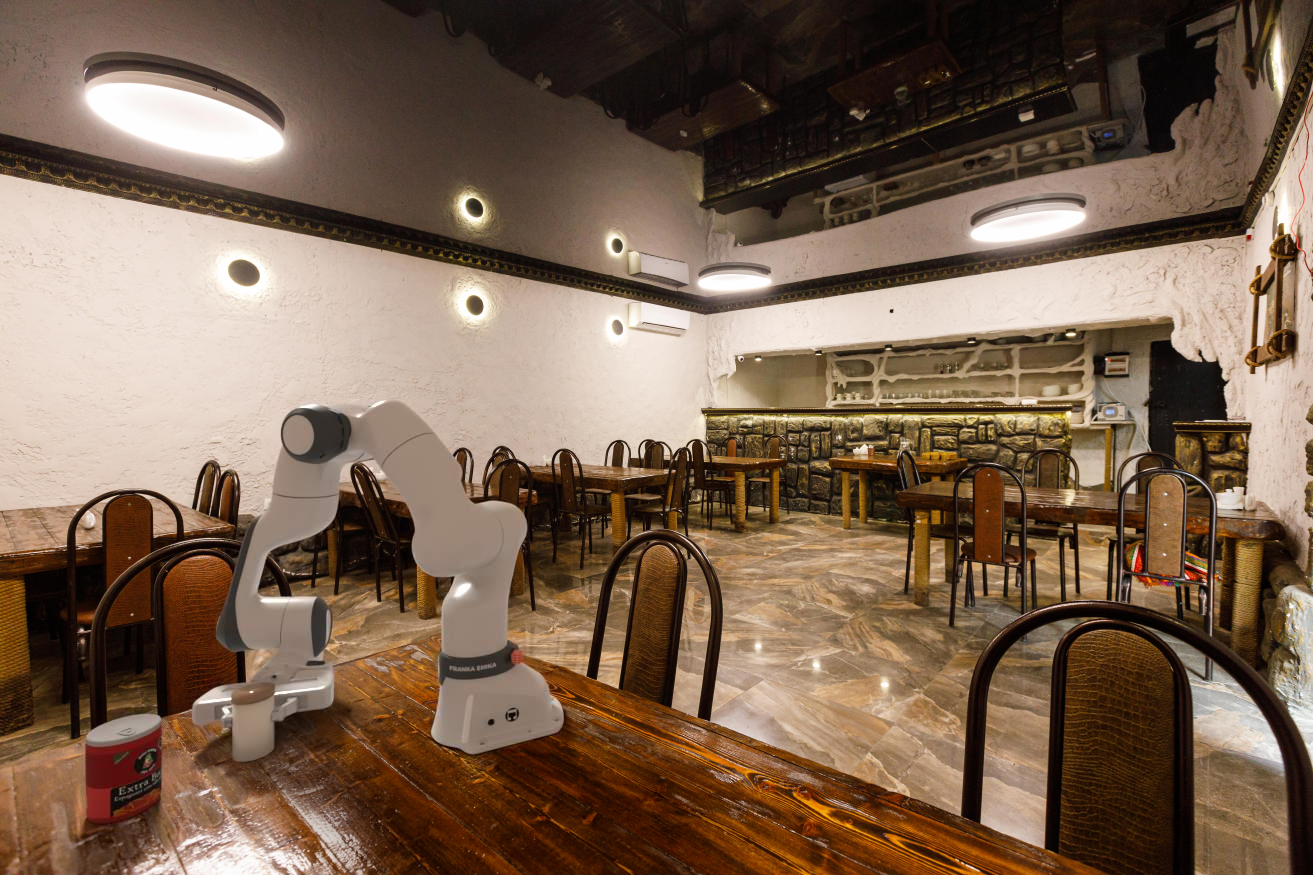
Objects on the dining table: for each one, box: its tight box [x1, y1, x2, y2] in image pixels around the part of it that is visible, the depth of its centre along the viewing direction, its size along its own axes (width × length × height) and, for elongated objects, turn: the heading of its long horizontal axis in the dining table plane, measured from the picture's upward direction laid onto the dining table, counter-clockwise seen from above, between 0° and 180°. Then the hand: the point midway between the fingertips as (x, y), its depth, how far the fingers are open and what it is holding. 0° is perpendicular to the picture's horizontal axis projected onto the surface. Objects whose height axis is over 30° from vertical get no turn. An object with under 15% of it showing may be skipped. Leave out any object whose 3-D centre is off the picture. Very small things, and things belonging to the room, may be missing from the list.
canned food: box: [84, 713, 163, 824], centre depth 78 cm, size 8×8×11 cm
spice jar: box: [231, 682, 275, 763], centre depth 92 cm, size 6×6×10 cm
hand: (251, 720), depth 91 cm, fingers closed on spice jar, 5 cm apart
